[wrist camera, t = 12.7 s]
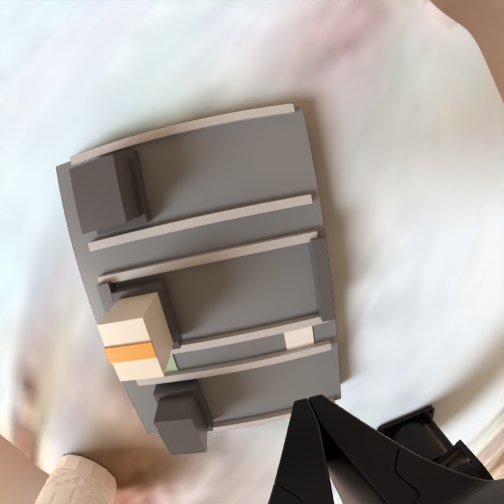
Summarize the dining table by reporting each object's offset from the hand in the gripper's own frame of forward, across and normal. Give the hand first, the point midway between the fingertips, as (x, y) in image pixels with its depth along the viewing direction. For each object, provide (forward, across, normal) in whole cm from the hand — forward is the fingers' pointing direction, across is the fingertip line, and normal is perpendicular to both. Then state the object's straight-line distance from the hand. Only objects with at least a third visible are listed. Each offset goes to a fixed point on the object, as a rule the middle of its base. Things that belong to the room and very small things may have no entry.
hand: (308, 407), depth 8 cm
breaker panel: (+12, +3, 0) cm, 12 cm away
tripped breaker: (+10, +7, 0) cm, 12 cm away
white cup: (+12, +22, +18) cm, 31 cm away
